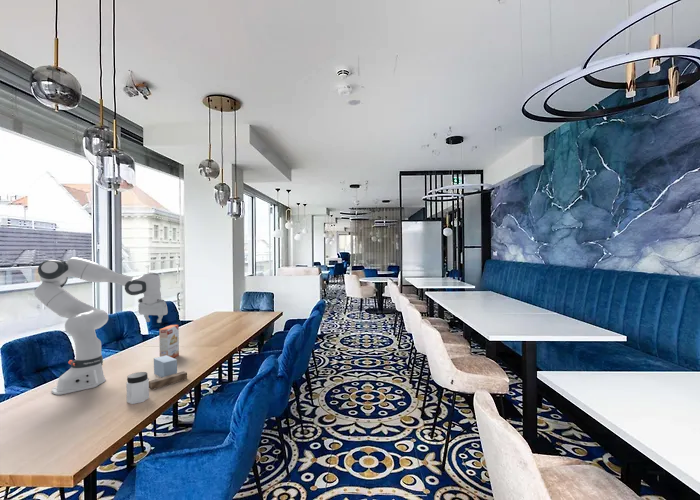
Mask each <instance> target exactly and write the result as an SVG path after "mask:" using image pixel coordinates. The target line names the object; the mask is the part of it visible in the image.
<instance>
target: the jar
mask: <svg viewBox="0 0 700 500" xmlns="http://www.w3.org/2000/svg"><path fill="white" fill-rule="evenodd" d="M149 379H150V378H148V372H146V371H138V372H134V373H131V374H129V375H128V376H127V379H126V383H125V384H126V403H128V404H130V405H135V404H140V403H144V402H145V401H147V400H148V399H149V398H150V388H149V381H150V380H149Z"/></svg>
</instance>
